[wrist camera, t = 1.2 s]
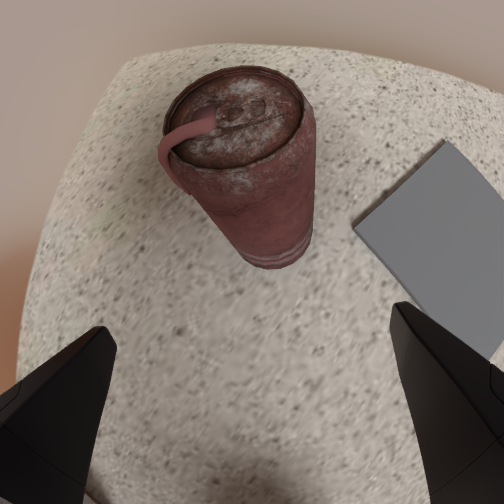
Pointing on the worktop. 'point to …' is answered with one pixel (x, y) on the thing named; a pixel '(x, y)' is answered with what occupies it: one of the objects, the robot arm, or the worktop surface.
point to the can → (247, 159)
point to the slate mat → (446, 246)
